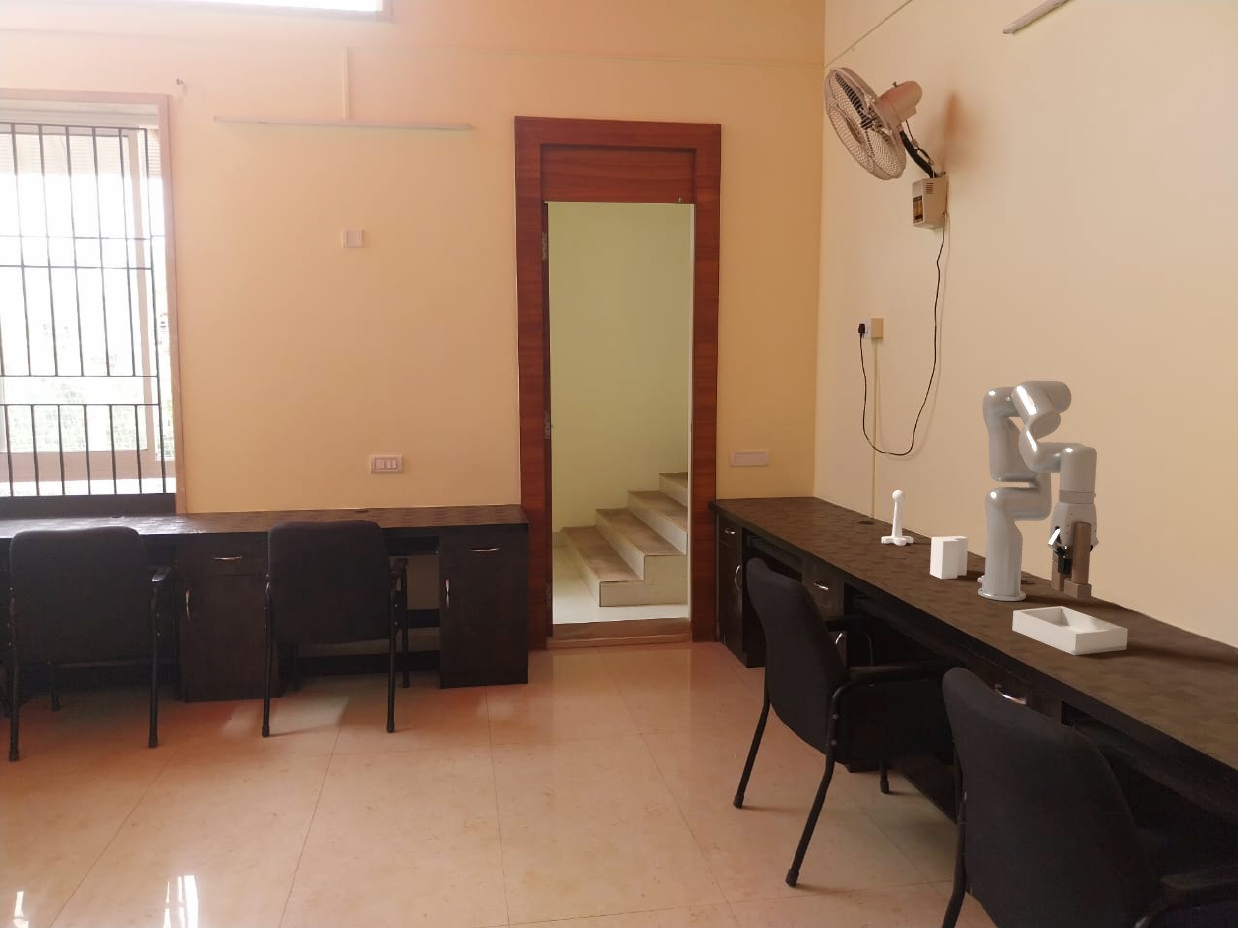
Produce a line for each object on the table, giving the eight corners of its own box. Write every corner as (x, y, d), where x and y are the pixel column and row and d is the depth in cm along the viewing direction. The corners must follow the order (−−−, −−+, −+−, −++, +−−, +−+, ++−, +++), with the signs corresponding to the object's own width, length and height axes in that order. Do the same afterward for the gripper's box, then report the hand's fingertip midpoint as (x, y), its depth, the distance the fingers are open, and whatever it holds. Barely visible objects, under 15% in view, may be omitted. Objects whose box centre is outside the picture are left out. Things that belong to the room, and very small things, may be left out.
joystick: (908, 541, 330) (910, 489, 328) (917, 545, 323) (919, 492, 320) (880, 542, 329) (882, 489, 327) (887, 546, 322) (889, 492, 319)
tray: (1012, 630, 221) (1013, 610, 220) (1060, 625, 225) (1061, 606, 224) (1074, 655, 202) (1076, 634, 201) (1126, 649, 206) (1127, 628, 205)
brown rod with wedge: (1063, 587, 217) (1068, 516, 215) (1091, 599, 207) (1096, 524, 205) (1049, 588, 217) (1053, 516, 215) (1076, 599, 206) (1081, 524, 204)
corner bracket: (941, 579, 273) (943, 541, 271) (922, 570, 284) (923, 534, 282) (972, 577, 275) (974, 540, 274) (952, 569, 286) (953, 533, 285)
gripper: (1091, 494, 215) (1087, 567, 217) (1035, 497, 210) (1031, 571, 212) (1117, 498, 208) (1112, 574, 210) (1059, 501, 203) (1055, 578, 205)
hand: (1071, 572), depth 211 cm, fingers closed on brown rod with wedge, 4 cm apart
